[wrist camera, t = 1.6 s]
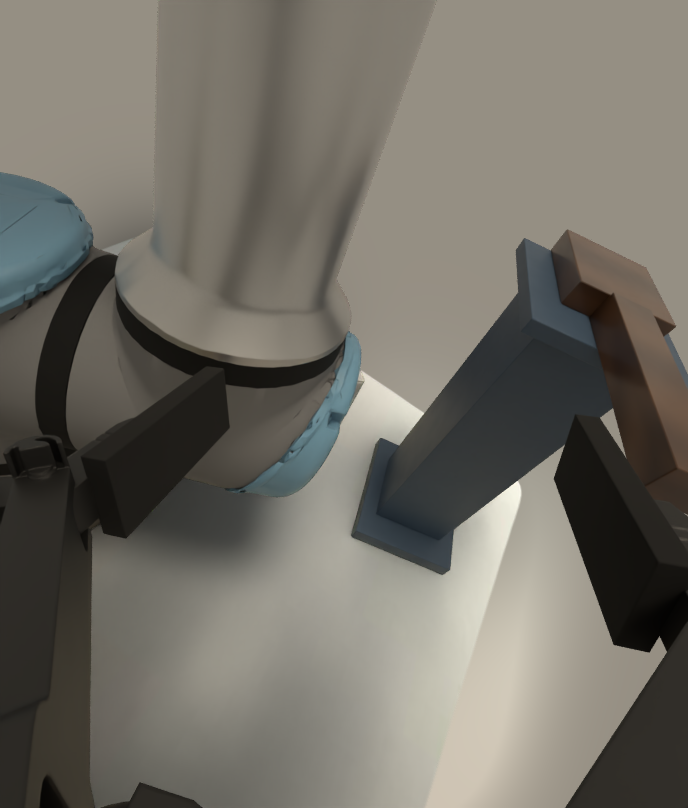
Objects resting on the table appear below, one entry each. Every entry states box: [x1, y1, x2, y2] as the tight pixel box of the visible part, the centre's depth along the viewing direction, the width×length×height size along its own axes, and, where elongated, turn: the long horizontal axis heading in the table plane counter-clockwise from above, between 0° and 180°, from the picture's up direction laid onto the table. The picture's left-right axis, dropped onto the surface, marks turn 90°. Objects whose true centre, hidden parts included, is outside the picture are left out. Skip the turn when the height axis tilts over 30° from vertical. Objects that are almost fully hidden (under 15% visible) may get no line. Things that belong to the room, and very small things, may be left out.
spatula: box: [551, 230, 688, 515], centre depth 22 cm, size 19×6×2 cm, turn 165°
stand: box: [351, 238, 688, 574], centre depth 35 cm, size 12×10×28 cm
